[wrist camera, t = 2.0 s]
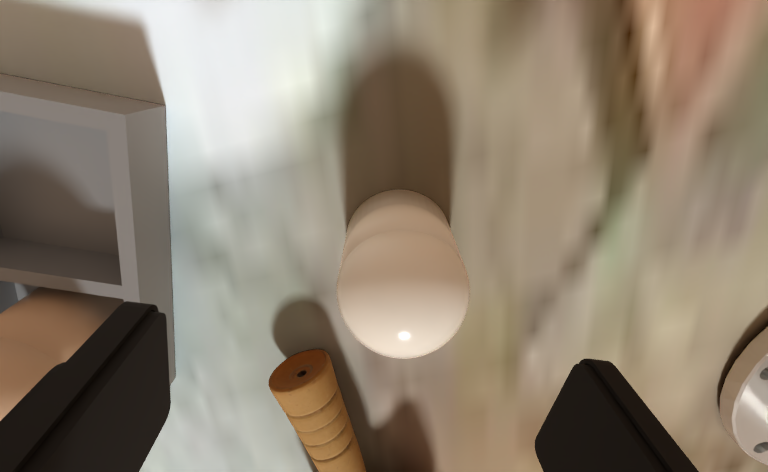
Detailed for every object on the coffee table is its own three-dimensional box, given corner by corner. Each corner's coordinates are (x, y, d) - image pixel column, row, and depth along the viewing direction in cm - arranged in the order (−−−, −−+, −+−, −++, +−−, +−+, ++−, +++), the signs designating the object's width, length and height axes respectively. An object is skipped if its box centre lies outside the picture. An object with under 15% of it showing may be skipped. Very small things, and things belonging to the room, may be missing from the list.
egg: (461, 200, 16) (505, 279, 10) (435, 289, 18) (460, 398, 12) (355, 180, 16) (341, 251, 10) (339, 273, 17) (319, 378, 12)
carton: (165, 105, 14) (6, 142, 8) (175, 377, 20) (85, 519, 14) (-41, 65, 14) (-376, 74, 8) (29, 357, 19) (-134, 497, 13)
